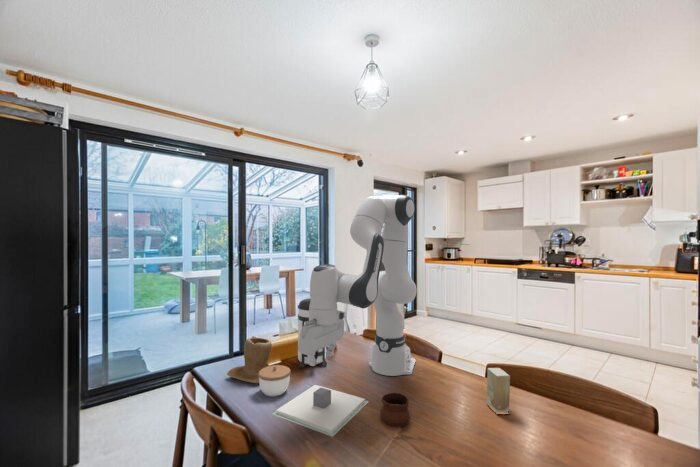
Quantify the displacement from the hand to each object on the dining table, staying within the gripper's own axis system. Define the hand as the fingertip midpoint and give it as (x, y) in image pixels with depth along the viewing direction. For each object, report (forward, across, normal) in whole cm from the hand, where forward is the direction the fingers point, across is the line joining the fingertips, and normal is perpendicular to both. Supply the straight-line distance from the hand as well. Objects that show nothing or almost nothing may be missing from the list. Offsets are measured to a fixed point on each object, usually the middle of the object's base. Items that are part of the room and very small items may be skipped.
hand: (321, 360), depth 102 cm
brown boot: (+16, +6, +36) cm, 40 cm away
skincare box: (+15, +28, -48) cm, 58 cm away
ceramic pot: (+16, +6, -22) cm, 28 cm away
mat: (+15, +1, 0) cm, 15 cm away
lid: (+15, +1, 0) cm, 15 cm away
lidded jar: (+16, +1, +20) cm, 25 cm away
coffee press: (+15, +29, +24) cm, 40 cm away
